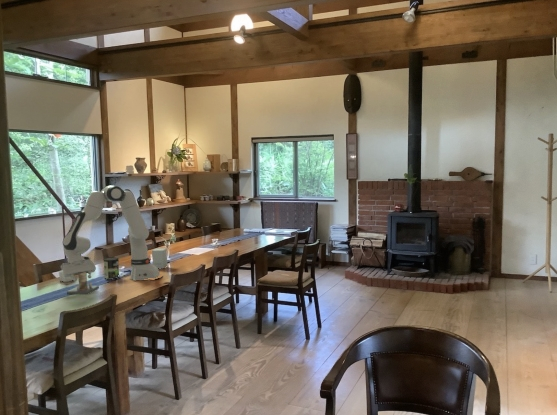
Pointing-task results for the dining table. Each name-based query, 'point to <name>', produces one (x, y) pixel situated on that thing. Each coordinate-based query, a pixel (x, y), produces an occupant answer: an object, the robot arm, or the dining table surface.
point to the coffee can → (111, 267)
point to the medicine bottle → (64, 279)
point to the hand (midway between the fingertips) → (82, 279)
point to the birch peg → (82, 280)
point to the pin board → (82, 291)
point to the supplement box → (159, 258)
